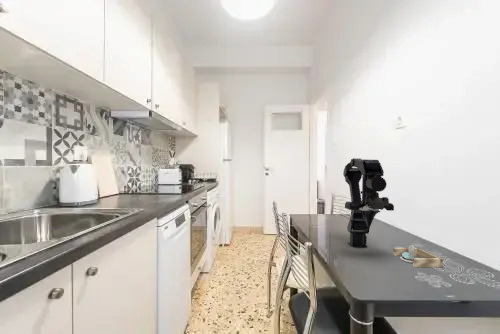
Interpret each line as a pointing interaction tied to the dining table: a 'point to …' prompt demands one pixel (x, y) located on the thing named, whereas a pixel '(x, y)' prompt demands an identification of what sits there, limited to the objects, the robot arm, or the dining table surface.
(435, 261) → the box
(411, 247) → the pacifier
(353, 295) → the dining table surface
